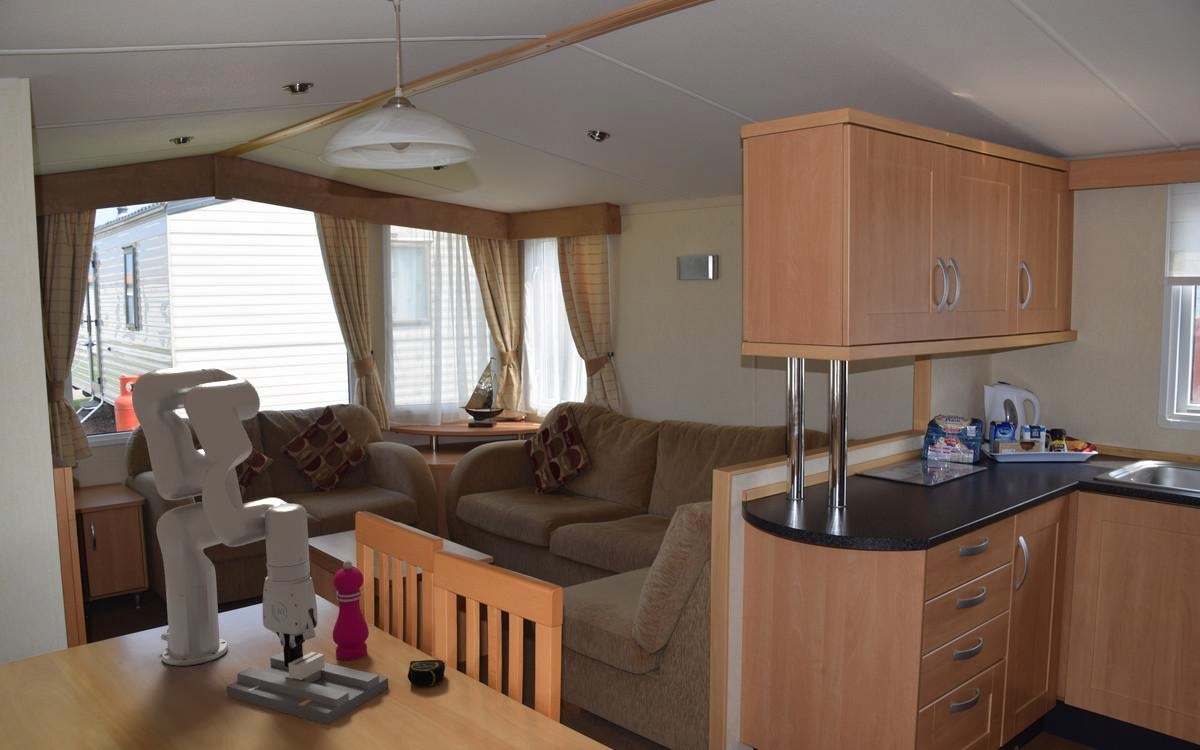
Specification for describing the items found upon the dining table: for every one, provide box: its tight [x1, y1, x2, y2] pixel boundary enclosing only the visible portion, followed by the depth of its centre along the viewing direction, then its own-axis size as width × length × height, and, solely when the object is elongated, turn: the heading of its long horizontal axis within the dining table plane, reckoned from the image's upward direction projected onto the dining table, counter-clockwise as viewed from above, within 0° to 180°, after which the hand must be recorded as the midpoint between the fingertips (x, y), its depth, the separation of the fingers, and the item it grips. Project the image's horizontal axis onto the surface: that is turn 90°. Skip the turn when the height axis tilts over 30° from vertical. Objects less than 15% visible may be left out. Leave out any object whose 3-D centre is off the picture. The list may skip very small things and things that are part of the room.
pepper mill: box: [332, 560, 370, 661], centre depth 188 cm, size 7×7×20 cm
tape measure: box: [407, 659, 446, 687], centre depth 175 cm, size 7×7×4 cm
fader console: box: [226, 651, 389, 725], centre depth 171 cm, size 25×16×4 cm, turn 63°
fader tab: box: [288, 651, 325, 683], centre depth 171 cm, size 3×6×4 cm, turn 153°
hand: (293, 664), depth 172 cm, fingers closed
